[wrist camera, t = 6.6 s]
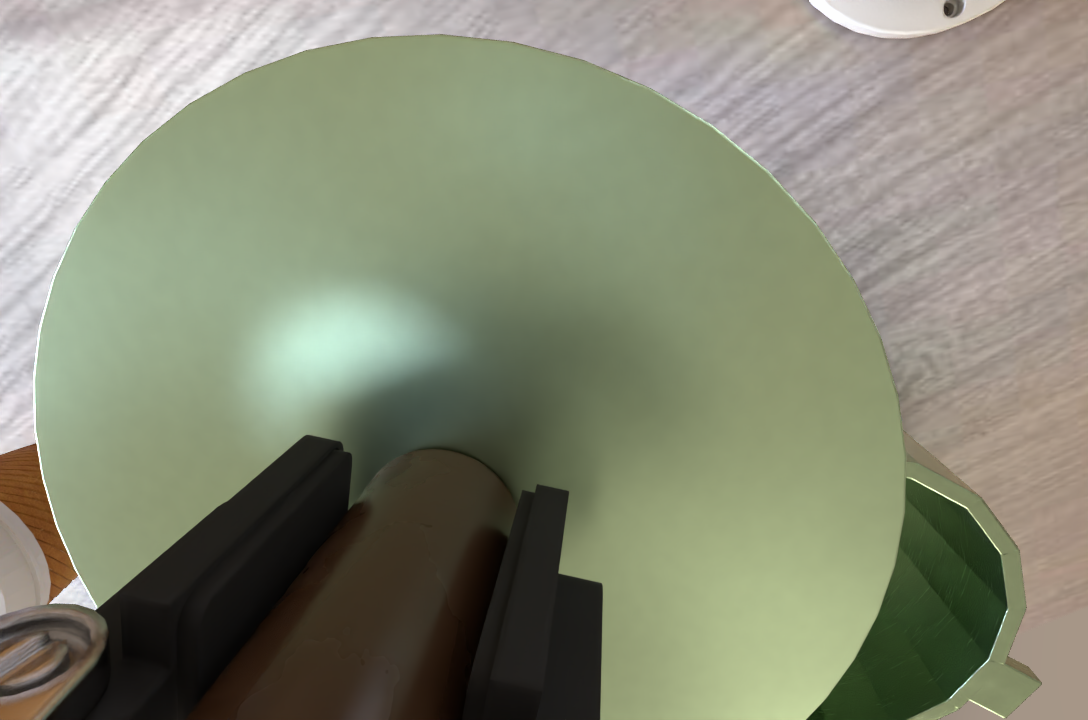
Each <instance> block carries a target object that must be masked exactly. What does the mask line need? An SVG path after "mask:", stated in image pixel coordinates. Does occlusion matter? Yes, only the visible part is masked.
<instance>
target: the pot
mask: <svg viewBox="0 0 1088 720" xmlns="http://www.w3.org/2000/svg"><path fill="white" fill-rule="evenodd" d="M903 435H904V442H905V450H906V485H905V514H904V520H903V525H902V531H901V536H900V542H899V547H898V553H897V558H896V564H895V567H894V570H893V573H892V576H891V579H890V582H889V585H888V588H887V590H886V593H885V596H884V599H883V602H882V605H881V608H880V611H879V613H878V616H877V618H876V620H875V622H874V623H873V625H872V627H871V629H870V631H869V633H868V635H867V637H866V639H865V640H864V642H863V644H862V646H861V648H860V650H859V652H858V654H857V656H856V658H855V659H854V661H853V662H852V664H851V665H850V666H849V668H848V669H847V670H846V672H845V673H844V675H843V676H842V677H841V679H840V680H839V681H838V683H837V684H836V686H835V687H834V688H833V690H832V691H831V692H830V694H829V695H828V697H827V698H826V699H825V700H824V701H823V702H822V703H821V705H820V706H819V707H818V708H817V709H816V710H815V711H814V712H813V713H812V714H811V715H810V716H809V717H808V718H807V719H806V720H938V719H940V718H942V717H944V716H946V715H949V714H951V713H953V712H955V711H957V710H958V709H960V708H961V707H962V706H963V705H964V704H965V703H966V702H967V701H968V700H970V701H972V702H974V703H976V704H977V705H979V706H981V707H983V708H986V709H987V710H989V711H991V712H993V713H995V714H997V715H999V716H1001V717H1003V718H1007V717H1008V716H1009V715H1010V714H1011V713H1012V712H1013V711H1014V710H1015V709H1016V708H1017V707H1019V705H1020V704H1022V703H1023V702H1024V701H1025V700H1026V699H1027V698H1028V697H1029V696H1030V695H1031V694H1032V693H1033V692H1034V691H1035V690H1037V688H1039V686H1041V685H1042V682H1041V681H1040V680H1039V679H1038V678H1037V676H1036V675H1035V674H1034V673H1033V672H1032V671H1031V669H1030V668H1029V667H1028V666H1026V665H1024V664H1022V663H1020V662H1018V661H1016V660H1014V659H1012V658H1010V657H1008V654H1009V652H1010V649H1011V647H1012V644H1013V641H1014V639H1015V637H1016V634H1017V631H1018V629H1019V626H1020V624H1021V621H1022V619H1023V616H1024V614H1025V611H1026V608H1027V607H1026V599H1025V591H1024V583H1023V574H1022V566H1021V558H1020V550H1019V549H1018V546H1017V545H1016V544H1015V542H1014V541H1013V540H1012V538H1011V537H1010V535H1009V534H1008V533H1007V531H1006V530H1005V529H1004V527H1003V526H1002V525H1001V523H1000V522H999V520H998V519H997V518H996V516H995V515H994V514H993V512H992V511H991V510H990V508H989V507H988V505H987V504H986V503H985V501H984V500H983V499H982V497H980V496H979V495H978V494H977V493H976V492H975V491H973V490H972V489H971V488H970V487H969V486H968V485H966V484H965V483H964V482H963V481H962V480H961V479H960V478H958V477H957V476H956V475H955V474H954V473H953V472H951V471H950V470H949V469H948V468H947V467H946V466H944V465H943V464H942V463H941V462H940V461H939V460H937V459H936V458H935V457H934V456H933V455H932V454H931V453H929V452H928V451H927V450H926V449H925V448H924V447H922V446H921V445H920V444H919V443H918V442H917V441H915V440H914V439H913V438H912V437H911V436H910V435H908V434H907V433H906V432H905V431H904V430H903Z"/></svg>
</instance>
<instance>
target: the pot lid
mask: <svg viewBox="0 0 1088 720" xmlns="http://www.w3.org/2000/svg"><path fill="white" fill-rule="evenodd" d="M33 384H34V424H35V434H36V441H37V447H38V453H39V460H40V466H41V472H42V478H43V481H44V485H45V488H46V492H47V495H48V499H49V502H50V505H51V509H52V512H53V516H54V519H55V523H56V526H57V528H58V530H59V533H60V535H61V537H62V540H63V542H64V544H65V547H66V549H67V551H68V554H69V556H70V558H71V561H72V563H73V566H74V568H75V570H76V572H77V573H78V575H79V577H80V579H81V581H82V582H83V584H84V586H85V588H86V589H87V591H88V593H89V595H90V596H91V598H92V600H93V602H94V604H95V605H96V607H97V609H98V608H99V607H100V606H101V605H102V604H103V603H105V602H106V601H107V600H108V599H109V598H111V597H112V596H113V595H114V594H115V593H116V592H118V591H119V590H120V589H121V588H122V587H124V586H125V585H126V584H127V583H128V582H129V581H131V580H132V579H133V578H134V577H135V576H137V575H138V574H139V573H140V572H141V571H142V570H144V569H145V568H146V567H147V566H148V565H150V564H151V563H152V562H153V561H154V560H155V559H157V558H158V557H159V556H160V555H161V554H163V553H164V552H165V551H166V550H167V549H168V548H170V547H171V546H172V545H173V544H174V543H175V542H177V541H178V540H179V539H180V538H181V537H183V536H184V535H185V534H186V533H187V532H188V531H190V530H191V529H192V528H193V527H194V526H196V525H197V524H198V523H199V522H200V521H201V520H203V519H204V518H205V517H206V516H207V515H209V514H210V513H211V512H212V511H213V510H214V509H216V508H217V507H218V506H220V505H221V504H223V503H224V502H227V501H228V500H230V499H231V498H232V497H233V496H234V495H235V494H237V493H238V492H239V491H240V490H241V489H242V488H244V487H245V486H246V485H247V484H248V483H249V482H251V481H252V480H253V479H254V478H255V477H256V476H258V475H259V474H260V473H261V472H262V471H263V470H265V469H266V468H267V467H268V466H269V465H270V464H272V463H273V462H274V461H275V460H276V459H278V458H279V457H280V456H281V455H282V454H283V453H285V452H286V451H287V450H288V449H289V448H290V447H292V446H293V445H294V444H295V443H296V442H297V441H299V440H300V439H301V438H302V437H303V436H305V435H312V436H317V437H322V438H326V439H331V440H336V441H340V442H341V443H342V444H343V448H344V451H345V452H350V453H351V454H352V472H351V483H350V494H349V505H348V511H347V513H346V514H345V515H344V516H343V518H342V519H341V520H340V522H339V523H338V524H337V525H336V527H335V528H334V529H333V531H332V532H331V533H330V534H329V536H328V537H327V538H326V539H325V541H324V542H323V543H322V545H321V546H320V547H319V548H318V550H317V551H316V552H315V554H314V555H313V556H312V557H311V559H310V560H309V561H308V563H307V564H306V565H305V566H304V568H303V569H302V570H301V572H300V573H299V574H298V575H297V577H296V578H295V579H294V581H293V582H292V583H291V584H290V586H289V587H288V588H287V590H286V591H285V592H284V593H283V595H282V596H281V597H280V598H279V600H278V601H277V602H276V604H275V605H274V606H273V607H272V609H271V610H270V611H269V613H268V614H267V615H266V616H265V618H264V619H263V620H262V622H261V623H260V624H259V625H258V627H257V628H256V629H255V631H254V632H253V633H252V634H251V636H250V637H249V638H248V640H247V641H246V642H245V643H244V645H243V646H242V647H241V648H240V650H239V651H238V652H237V654H236V655H235V656H234V657H233V659H232V660H231V661H230V663H229V664H228V665H227V666H226V668H225V669H224V670H223V672H222V673H221V674H220V675H219V677H218V678H217V679H216V681H215V682H214V683H213V684H212V686H211V687H210V688H209V690H208V691H207V692H206V693H205V695H204V696H203V697H202V699H201V700H200V701H199V702H198V704H197V705H196V706H195V707H194V709H193V710H192V711H191V713H190V714H189V715H188V716H187V718H186V719H185V720H462V715H463V710H464V704H465V699H466V694H467V689H468V684H469V679H470V675H471V671H472V667H473V663H474V659H475V655H476V651H477V648H478V644H479V641H480V637H481V634H482V630H483V626H484V623H485V619H486V616H487V612H488V609H489V605H490V602H491V598H492V595H493V591H494V588H495V584H496V581H497V577H498V574H499V570H500V566H501V563H502V559H503V556H504V552H505V549H506V545H507V542H508V538H509V535H510V531H511V528H512V524H513V521H514V517H515V513H516V510H517V506H518V503H519V499H520V496H521V492H522V490H525V491H529V492H534V493H535V490H536V486H537V484H539V485H544V486H548V487H553V488H558V489H562V490H567V491H569V497H568V505H567V512H566V520H565V527H564V535H563V542H562V550H561V557H560V565H559V572H558V573H559V574H563V575H568V576H572V577H577V578H581V579H586V580H590V581H595V582H599V583H602V585H603V613H602V661H601V709H600V720H806V719H807V718H808V717H809V716H810V715H811V714H812V713H813V712H814V711H815V710H816V709H817V708H818V707H819V706H820V705H821V703H822V702H823V701H824V700H825V699H826V698H827V697H828V695H829V694H830V692H831V691H832V690H833V688H834V687H835V686H836V684H837V683H838V681H839V680H840V679H841V677H842V676H843V675H844V673H845V672H846V670H847V669H848V668H849V666H850V665H851V664H852V662H853V661H854V659H855V658H856V656H857V654H858V652H859V650H860V648H861V646H862V644H863V642H864V640H865V639H866V637H867V635H868V633H869V631H870V629H871V627H872V625H873V623H874V622H875V620H876V618H877V616H878V613H879V611H880V608H881V605H882V602H883V599H884V596H885V593H886V590H887V588H888V585H889V582H890V579H891V576H892V573H893V570H894V567H895V564H896V558H897V553H898V547H899V542H900V536H901V531H902V525H903V520H904V514H905V485H906V450H905V442H904V435H903V427H902V420H901V412H900V405H899V397H898V393H897V390H896V386H895V383H894V380H893V376H892V373H891V370H890V366H889V363H888V359H887V356H886V353H885V349H884V346H883V343H882V339H881V336H880V334H879V332H878V330H877V328H876V326H875V323H874V321H873V319H872V317H871V315H870V313H869V311H868V309H867V307H866V304H865V302H864V300H863V298H862V296H861V294H860V292H859V290H858V287H857V285H856V283H855V281H854V279H853V277H852V276H851V274H850V273H849V271H848V270H847V268H846V267H845V265H844V264H843V262H842V261H841V260H840V258H839V257H838V255H837V254H836V252H835V251H834V249H833V248H832V246H831V245H830V243H829V242H828V240H827V239H826V237H825V236H824V234H823V233H822V231H821V230H820V228H819V227H818V225H817V224H816V222H815V221H814V220H813V219H812V218H811V217H810V216H809V215H808V214H807V213H806V211H805V210H804V209H803V208H802V207H801V206H800V205H799V204H798V203H797V202H796V200H795V199H794V198H793V197H792V196H791V195H790V194H789V193H788V192H787V191H786V190H785V188H784V187H783V186H782V185H781V184H780V183H779V182H778V181H777V180H776V179H775V177H774V176H773V175H772V174H771V173H770V172H769V171H768V170H767V169H765V168H764V167H763V166H762V165H761V164H759V163H758V162H757V161H756V160H754V159H753V158H752V157H751V156H750V155H748V154H747V153H746V152H745V151H743V150H742V149H741V148H740V147H739V146H737V145H736V144H735V143H734V142H732V141H731V140H730V139H729V138H728V137H726V136H725V135H724V134H723V133H721V132H720V131H719V130H718V129H717V128H715V127H714V126H713V125H711V124H709V123H708V122H706V121H704V120H703V119H701V118H699V117H698V116H696V115H694V114H693V113H691V112H689V111H688V110H686V109H684V108H683V107H681V106H679V105H678V104H676V103H674V102H673V101H671V100H669V99H668V98H666V97H664V96H663V95H661V94H659V93H658V92H656V91H654V90H653V89H651V88H649V87H646V86H644V85H642V84H639V83H637V82H634V81H632V80H630V79H627V78H625V77H623V76H620V75H618V74H615V73H613V72H611V71H608V70H606V69H603V68H601V67H599V66H596V65H594V64H592V63H589V62H587V61H584V60H581V59H577V58H573V57H569V56H566V55H562V54H558V53H554V52H550V51H546V50H542V49H538V48H535V47H531V46H527V45H523V44H519V43H515V42H509V41H499V40H490V39H481V38H471V37H462V36H453V35H443V34H438V35H415V36H391V37H371V38H366V39H361V40H356V41H351V42H346V43H341V44H336V45H331V46H326V47H320V48H315V49H310V50H306V51H303V52H300V53H297V54H295V55H292V56H289V57H286V58H284V59H281V60H278V61H275V62H273V63H270V64H267V65H265V66H262V67H259V68H256V69H254V70H251V71H248V72H245V73H243V74H242V75H240V76H238V77H236V78H234V79H233V80H231V81H229V82H227V83H226V84H224V85H222V86H220V87H218V88H217V89H215V90H213V91H211V92H209V93H208V94H206V95H204V96H202V97H200V98H199V99H197V100H195V101H193V102H192V103H190V104H189V105H187V106H186V107H185V108H184V109H182V110H181V111H180V112H179V113H177V114H176V115H175V116H173V117H172V118H171V119H170V120H168V121H167V122H166V123H165V124H163V125H162V126H161V127H160V128H158V129H157V130H156V131H155V132H153V133H152V134H151V135H150V136H148V137H147V138H146V139H145V140H143V141H142V142H141V143H140V145H139V146H138V147H137V148H136V149H135V150H134V151H133V152H132V153H131V154H130V156H129V157H128V158H127V159H126V160H125V161H124V162H123V163H122V164H121V165H120V167H119V168H118V169H117V170H116V171H115V172H114V173H113V174H112V175H111V176H110V178H109V179H108V180H107V181H106V182H105V183H104V185H103V186H102V188H101V189H100V191H99V192H98V194H97V195H96V197H95V198H94V200H93V202H92V203H91V205H90V206H89V208H88V209H87V211H86V212H85V214H84V215H83V217H82V219H81V220H80V222H79V223H78V225H77V226H76V228H75V229H74V231H73V234H72V236H71V238H70V240H69V243H68V245H67V247H66V250H65V252H64V254H63V256H62V259H61V261H60V263H59V265H58V268H57V270H56V272H55V274H54V277H53V279H52V283H51V287H50V290H49V294H48V298H47V302H46V305H45V309H44V313H43V316H42V320H41V324H40V328H39V335H38V344H37V352H36V361H35V369H34V378H33Z"/></svg>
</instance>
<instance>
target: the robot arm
mask: <svg viewBox="0 0 1088 720" xmlns="http://www.w3.org/2000/svg"><path fill="white" fill-rule="evenodd" d="M1004 1H1005V0H809V2H810V3H811V4H812V5H813V6H814V7H815V8H817V9H818V10H819V11H820V12H822V13H823V14H824V15H826V16H827V17H828V18H829V19H831V20H832V21H833V22H835V23H838V24H840V25H842V26H844V27H846V28H848V29H850V30H853V31H855V32H857V33H862V34H866V35H871V36H875V37H880V38H915V37H920V36H925V35H930V34H936V33H940V32H942V31H945V30H948V29H950V28H953V27H956V26H958V25H961V24H964V23H966V22H968V21H970V20H972V19H974V18H976V17H978V16H980V15H982V14H984V13H986V12H988V11H990V10H992V9H994V8H995V7H996V6H998V5H999V4H1001V3H1002V2H1004ZM944 6H946V7H948V10H949V12H948V15H947V16H946V15H945V13H944V11H943V8H944ZM351 472H352V454H351V453H350V452H345V451H344V448H343V444H342V443H341V442H340V441H336V440H331V439H326V438H322V437H317V436H312V435H305V436H303V437H302V438H301V439H300V440H299V441H297V442H296V443H295V444H294V445H293V446H292V447H290V448H289V449H288V450H287V451H286V452H285V453H283V454H282V455H281V456H280V457H279V458H278V459H276V460H275V461H274V462H273V463H272V464H270V465H269V466H268V467H267V468H266V469H265V470H263V471H262V472H261V473H260V474H259V475H258V476H256V477H255V478H254V479H253V480H252V481H251V482H249V483H248V484H247V485H246V486H245V487H244V488H242V489H241V490H240V491H239V492H238V493H237V494H235V495H234V496H233V497H232V498H231V499H230V500H228V501H227V502H224V503H223V504H221V505H220V506H218V507H217V508H216V509H214V510H213V511H212V512H211V513H210V514H209V515H207V516H206V517H205V518H204V519H203V520H201V521H200V522H199V523H198V524H197V525H196V526H194V527H193V528H192V529H191V530H190V531H188V532H187V533H186V534H185V535H184V536H183V537H181V538H180V539H179V540H178V541H177V542H175V543H174V544H173V545H172V546H171V547H170V548H168V549H167V550H166V551H165V552H164V553H163V554H161V555H160V556H159V557H158V558H157V559H155V560H154V561H153V562H152V563H151V564H150V565H148V566H147V567H146V568H145V569H144V570H142V571H141V572H140V573H139V574H138V575H137V576H135V577H134V578H133V579H132V580H131V581H129V582H128V583H127V584H126V585H125V586H124V587H122V588H121V589H120V590H119V591H118V592H116V593H115V594H114V595H113V596H112V597H111V598H109V599H108V600H107V601H106V602H105V603H103V604H102V605H101V606H100V607H99V608H98V609H96V610H95V611H94V610H93V609H89V608H86V607H83V606H80V605H76V604H47V605H40V606H33V607H28V608H24V609H21V610H17V611H14V612H10V613H7V614H4V615H1V616H0V720H185V719H186V718H187V716H188V715H189V714H190V713H191V711H192V710H193V709H194V707H195V706H196V705H197V704H198V702H199V701H200V700H201V699H202V697H203V696H204V695H205V693H206V692H207V691H208V690H209V688H210V687H211V686H212V684H213V683H214V682H215V681H216V679H217V678H218V677H219V675H220V674H221V673H222V672H223V670H224V669H225V668H226V666H227V665H228V664H229V663H230V661H231V660H232V659H233V657H234V656H235V655H236V654H237V652H238V651H239V650H240V648H241V647H242V646H243V645H244V643H245V642H246V641H247V640H248V638H249V637H250V636H251V634H252V633H253V632H254V631H255V629H256V628H257V627H258V625H259V624H260V623H261V622H262V620H263V619H264V618H265V616H266V615H267V614H268V613H269V611H270V610H271V609H272V607H273V606H274V605H275V604H276V602H277V601H278V600H279V598H280V597H281V596H282V595H283V593H284V592H285V591H286V590H287V588H288V587H289V586H290V584H291V583H292V582H293V581H294V579H295V578H296V577H297V575H298V574H299V573H300V572H301V570H302V569H303V568H304V566H305V565H306V564H307V563H308V561H309V560H310V559H311V557H312V556H313V555H314V554H315V552H316V551H317V550H318V548H319V547H320V546H321V545H322V543H323V542H324V541H325V539H326V538H327V537H328V536H329V534H330V533H331V532H332V531H333V529H334V528H335V527H336V525H337V524H338V523H339V522H340V520H341V519H342V518H343V516H344V515H345V514H346V513H347V511H348V505H349V494H350V483H351ZM568 497H569V491H567V490H562V489H558V488H553V487H548V486H544V485H539V484H537V486H536V490H535V493H534V492H529V491H525V490H522V492H521V496H520V499H519V503H518V506H517V510H516V513H515V517H514V521H513V524H512V528H511V531H510V535H509V538H508V542H507V545H506V549H505V552H504V556H503V559H502V563H501V566H500V570H499V574H498V577H497V581H496V584H495V588H494V591H493V595H492V598H491V602H490V605H489V609H488V612H487V616H486V619H485V623H484V626H483V630H482V634H481V637H480V641H479V644H478V648H477V651H476V655H475V659H474V663H473V667H472V671H471V675H470V679H469V684H468V689H467V694H466V699H465V704H464V710H463V715H462V720H600V709H601V661H602V613H603V585H602V583H599V582H595V581H590V580H586V579H581V578H577V577H572V576H568V575H563V574H559V573H558V572H559V565H560V557H561V550H562V542H563V535H564V527H565V520H566V512H567V505H568Z"/></svg>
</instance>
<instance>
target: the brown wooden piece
mask: <svg viewBox="0 0 1088 720" xmlns="http://www.w3.org/2000/svg"><path fill="white" fill-rule="evenodd" d="M77 576H78V573H77V572H76V570H75V568H74V566H73V563H72V561H71V558H70V556H69V554H68V551H67V549H66V547H65V544H64V542H63V540H62V537H61V535H60V533H59V530H58V528H57V526H56V523H55V519H54V516H53V512H52V509H51V505H50V502H49V499H48V495H47V492H46V488H45V485H44V481H43V478H42V472H41V466H40V460H39V453H38V447H37V443H36V444H33V445H30V446H26V447H23V448H20V449H17V450H14V451H11V452H8V453H5V454H2V455H0V616H1V615H4V614H7V613H10V612H14V611H17V610H21V609H24V608H28V607H33V606H40V605H47V604H49V603H50V602H51V601H52V600H53V599H54V597H57V596H58V595H59V593H60V592H61V591H62V590H63V588H66V587H67V586H68V585H69V584H70V583H71V581H72V580H74V579H75V578H76V577H77Z"/></svg>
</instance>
